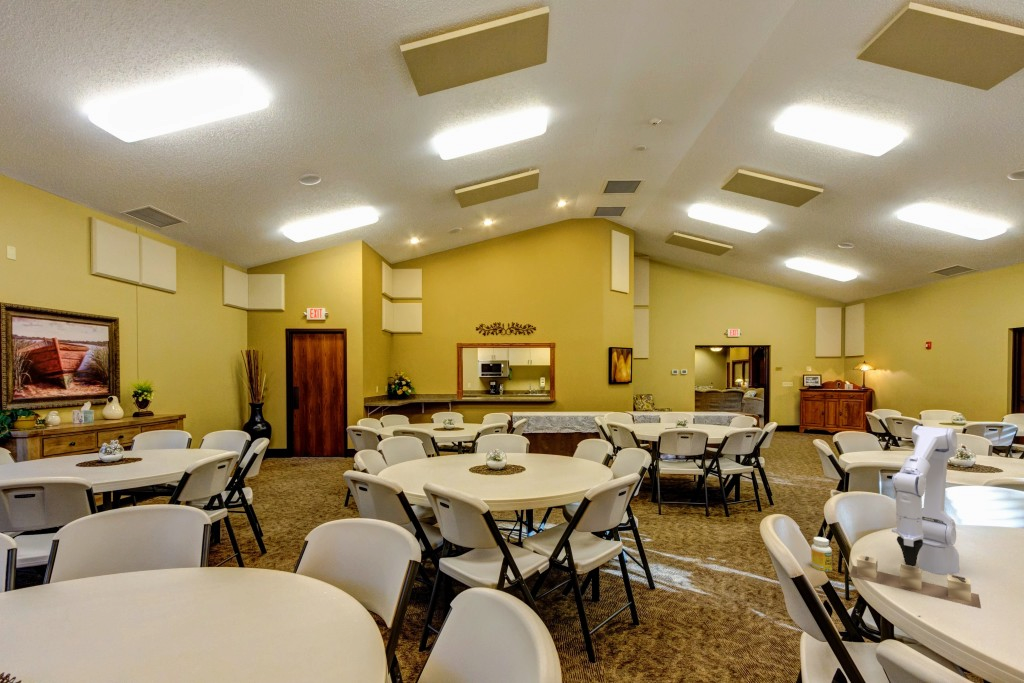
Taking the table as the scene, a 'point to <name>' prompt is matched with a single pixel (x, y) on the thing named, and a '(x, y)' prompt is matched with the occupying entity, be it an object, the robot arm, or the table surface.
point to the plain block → (910, 577)
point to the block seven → (959, 588)
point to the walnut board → (925, 590)
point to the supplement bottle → (821, 554)
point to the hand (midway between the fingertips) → (910, 565)
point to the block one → (867, 566)
